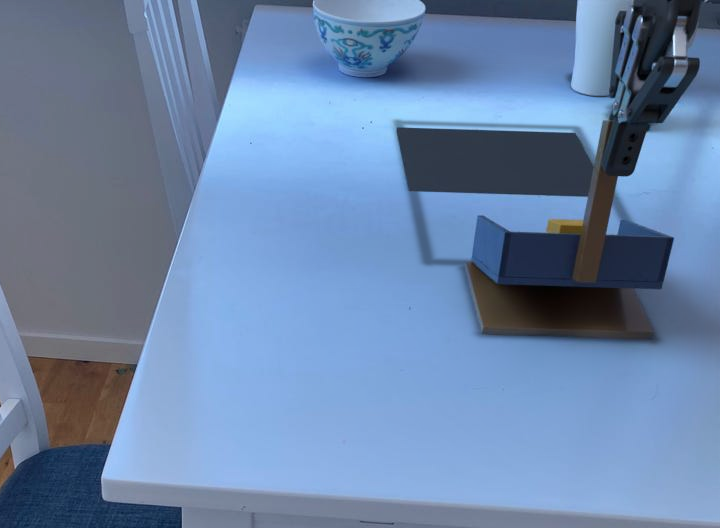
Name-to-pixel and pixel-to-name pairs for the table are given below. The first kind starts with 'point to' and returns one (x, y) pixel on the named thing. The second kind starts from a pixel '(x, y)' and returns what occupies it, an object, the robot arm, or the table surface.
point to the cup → (595, 45)
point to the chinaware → (367, 32)
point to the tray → (577, 246)
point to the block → (564, 226)
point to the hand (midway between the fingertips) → (615, 172)
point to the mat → (495, 162)
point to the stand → (556, 309)
